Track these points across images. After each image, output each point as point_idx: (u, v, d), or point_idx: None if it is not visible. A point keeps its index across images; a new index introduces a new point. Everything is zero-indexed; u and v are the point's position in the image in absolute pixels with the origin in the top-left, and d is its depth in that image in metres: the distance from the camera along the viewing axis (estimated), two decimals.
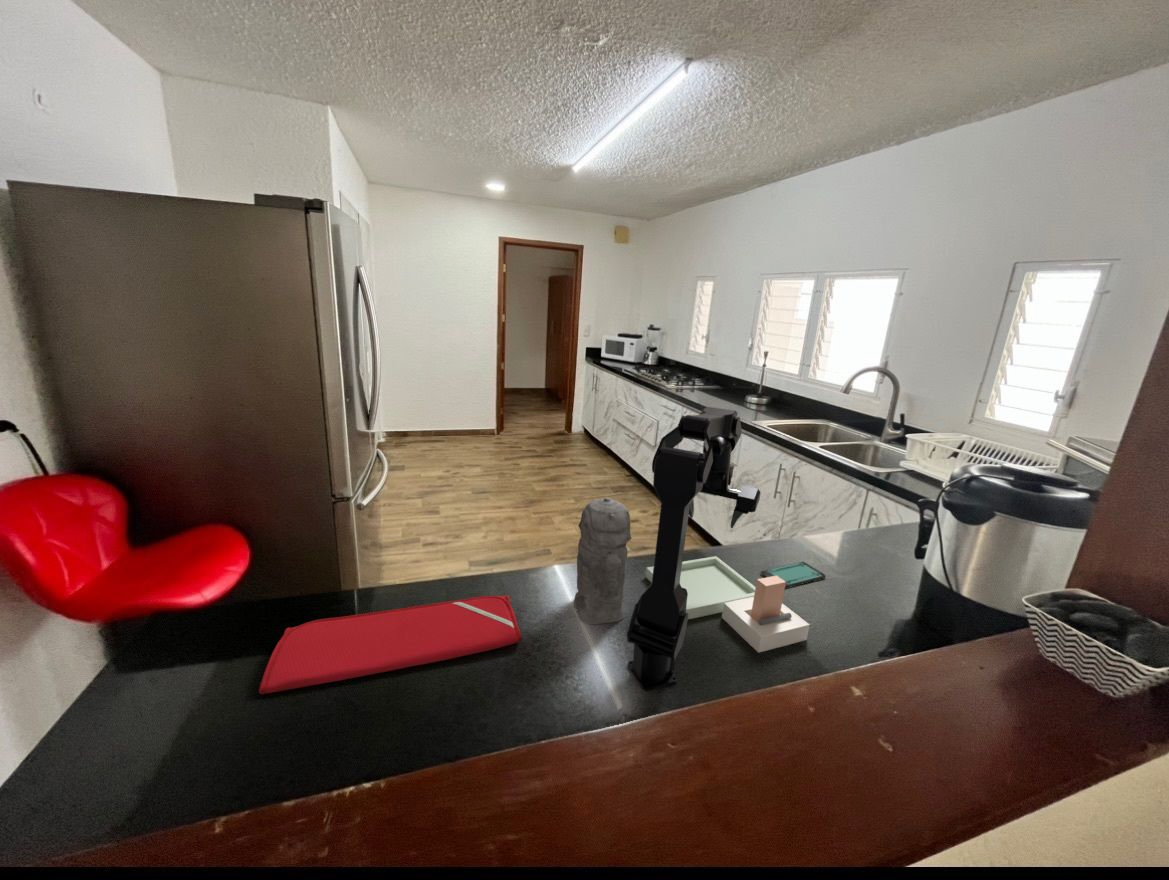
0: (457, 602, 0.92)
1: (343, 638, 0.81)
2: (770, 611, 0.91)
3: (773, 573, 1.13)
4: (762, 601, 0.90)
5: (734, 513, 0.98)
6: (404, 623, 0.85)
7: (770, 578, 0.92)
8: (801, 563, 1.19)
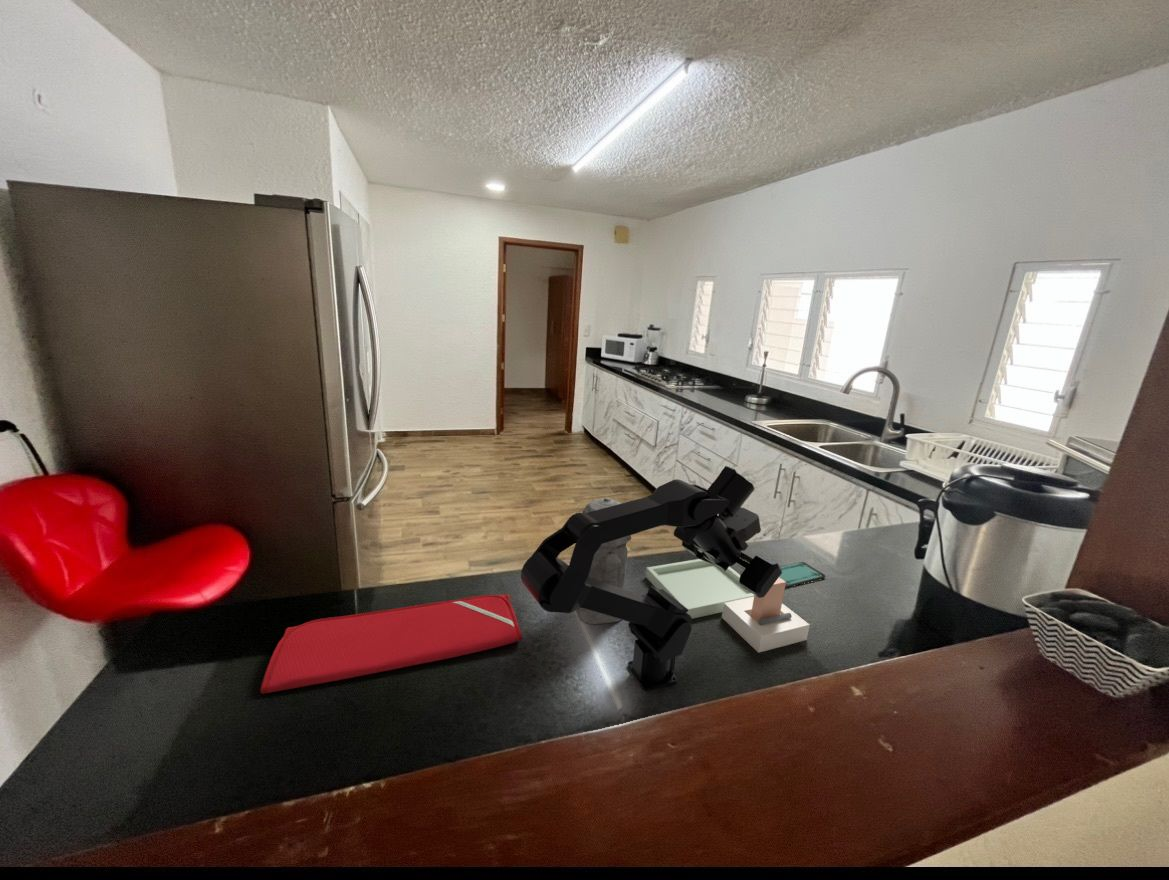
0: (457, 601, 0.92)
1: (344, 637, 0.81)
2: (770, 611, 0.91)
3: None
4: (762, 601, 0.90)
5: None
6: (404, 622, 0.85)
7: None
8: (801, 563, 1.19)
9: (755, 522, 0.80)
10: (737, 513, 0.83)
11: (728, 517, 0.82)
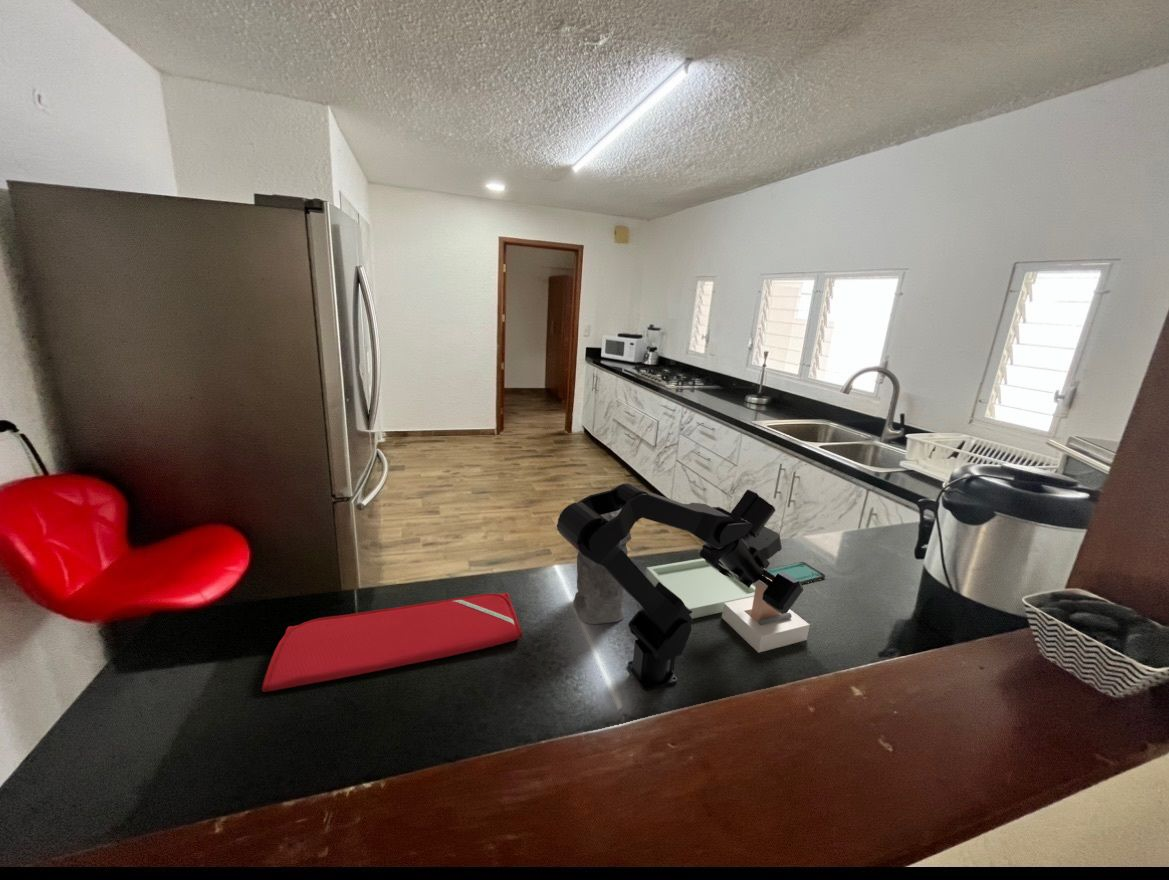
0: (457, 600, 0.93)
1: (345, 636, 0.81)
2: (770, 611, 0.91)
3: (773, 573, 1.13)
4: (762, 600, 0.90)
5: None
6: (405, 620, 0.86)
7: None
8: (801, 563, 1.19)
9: (776, 541, 0.84)
10: (758, 532, 0.87)
11: (750, 536, 0.87)
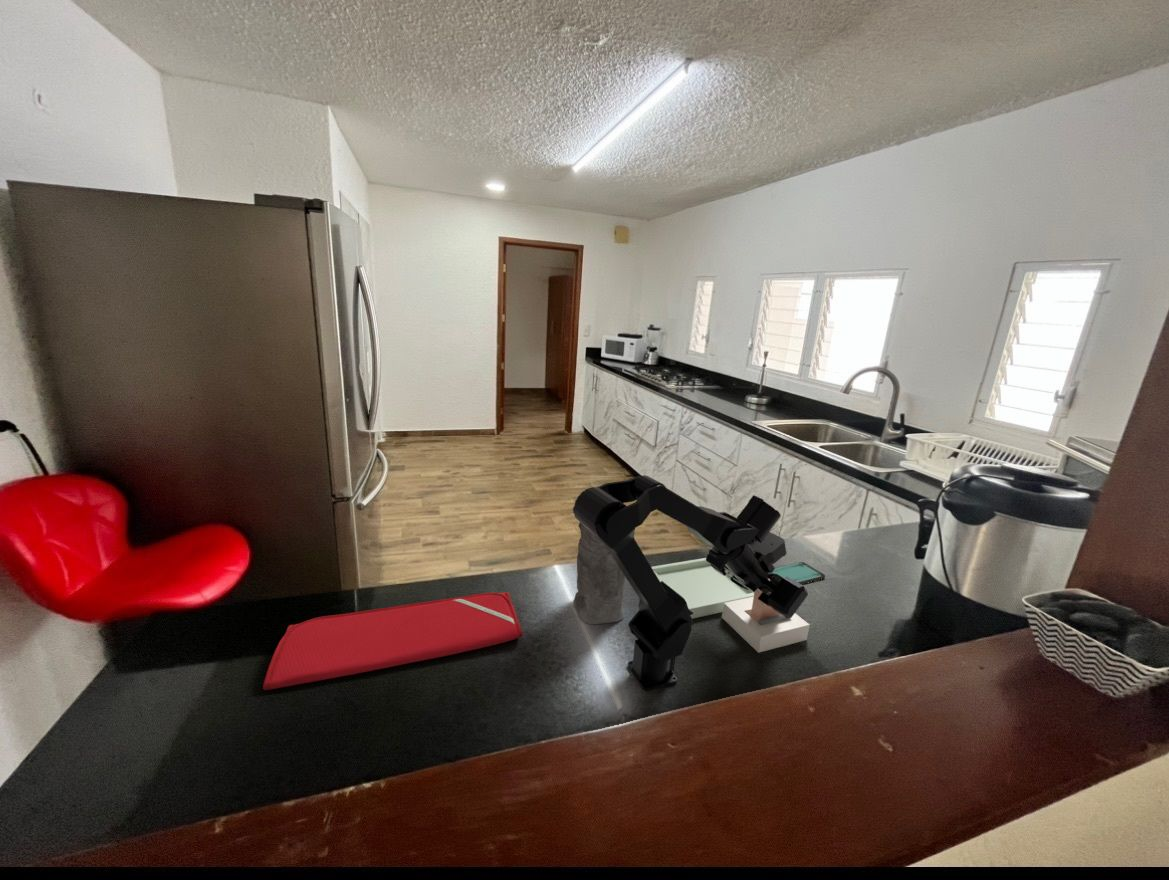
0: (458, 599, 0.93)
1: (346, 635, 0.81)
2: (770, 611, 0.91)
3: None
4: None
5: None
6: (405, 619, 0.86)
7: None
8: (801, 563, 1.19)
9: (781, 546, 0.85)
10: None
11: (755, 541, 0.88)
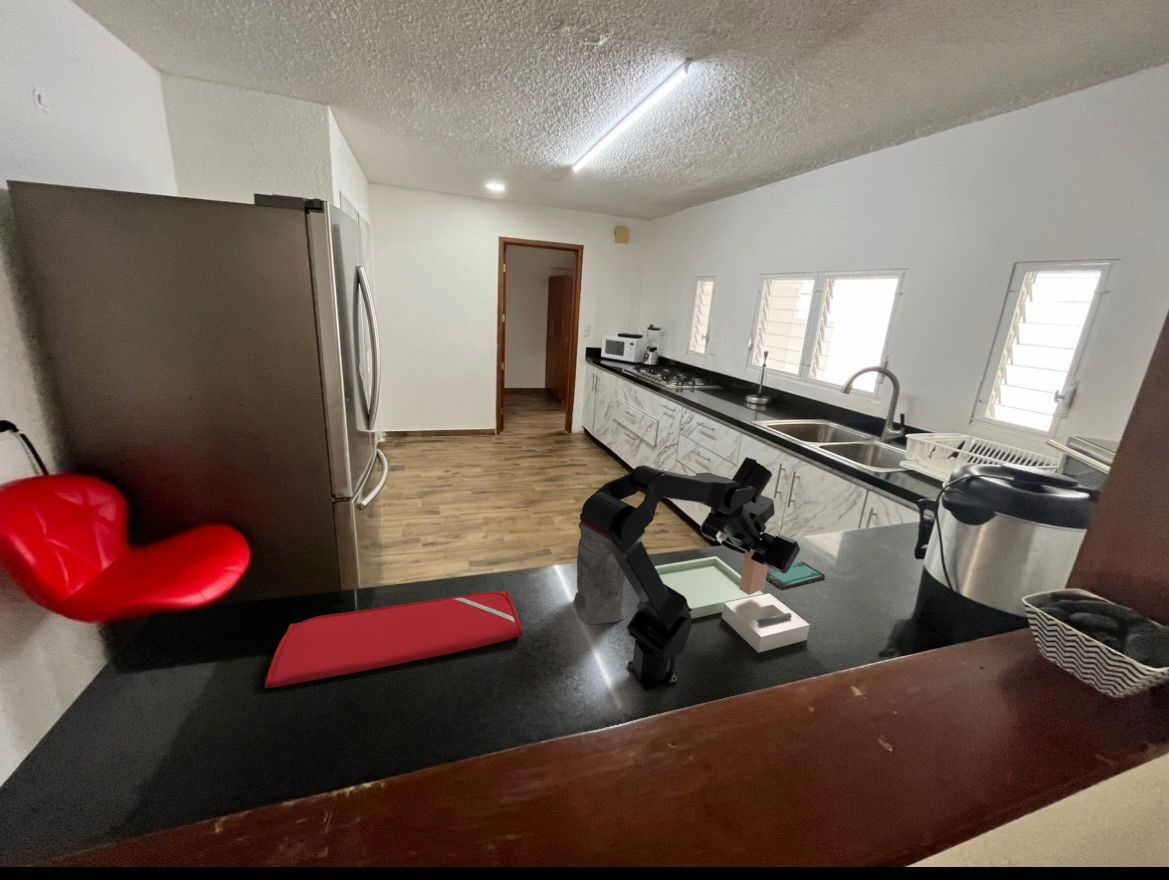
0: (458, 598, 0.93)
1: (347, 633, 0.82)
2: (759, 571, 0.94)
3: (772, 573, 1.13)
4: (753, 561, 0.92)
5: None
6: (406, 618, 0.86)
7: None
8: (800, 563, 1.19)
9: (771, 506, 0.88)
10: None
11: (745, 503, 0.90)
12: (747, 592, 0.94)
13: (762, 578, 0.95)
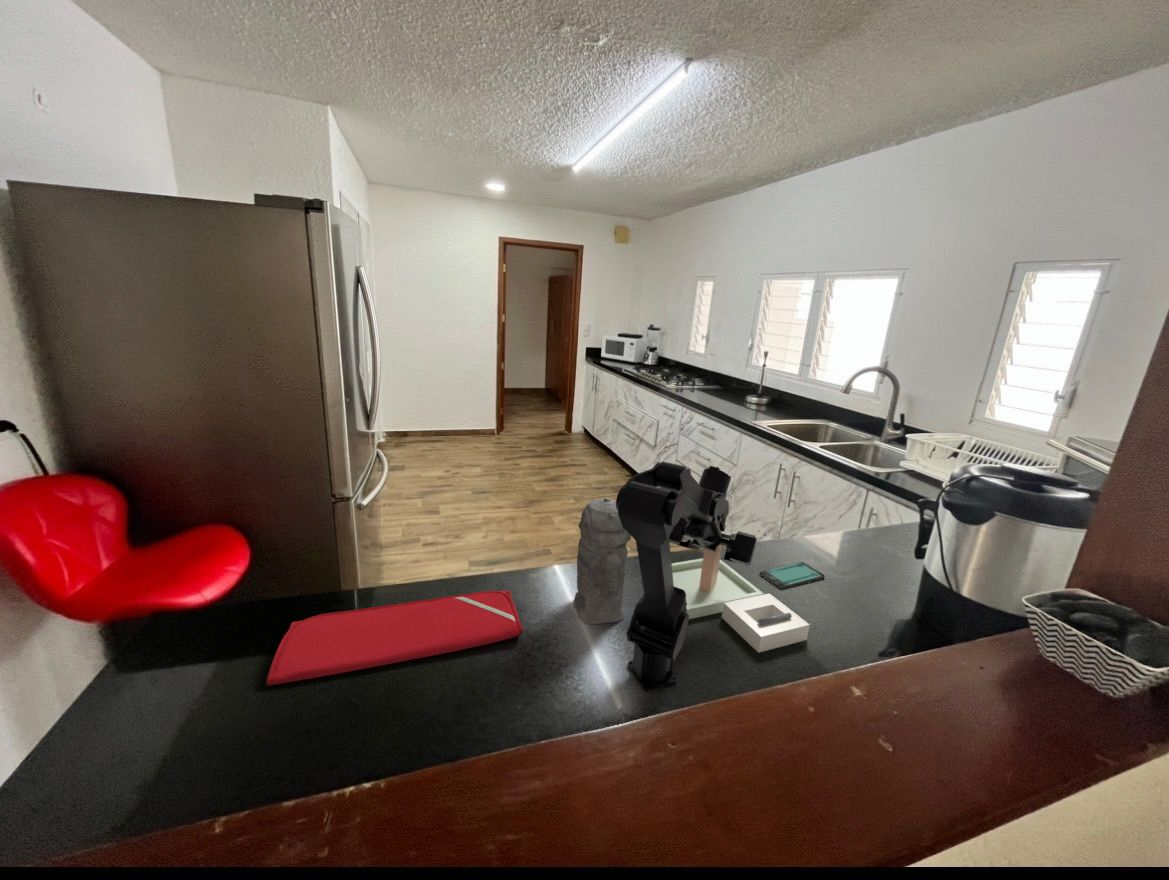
0: (459, 597, 0.94)
1: (348, 631, 0.82)
2: (715, 568, 1.04)
3: (772, 573, 1.13)
4: (712, 561, 1.02)
5: None
6: (407, 617, 0.87)
7: None
8: (800, 563, 1.19)
9: (727, 506, 0.98)
10: None
11: None
12: (707, 590, 1.04)
13: (716, 574, 1.06)
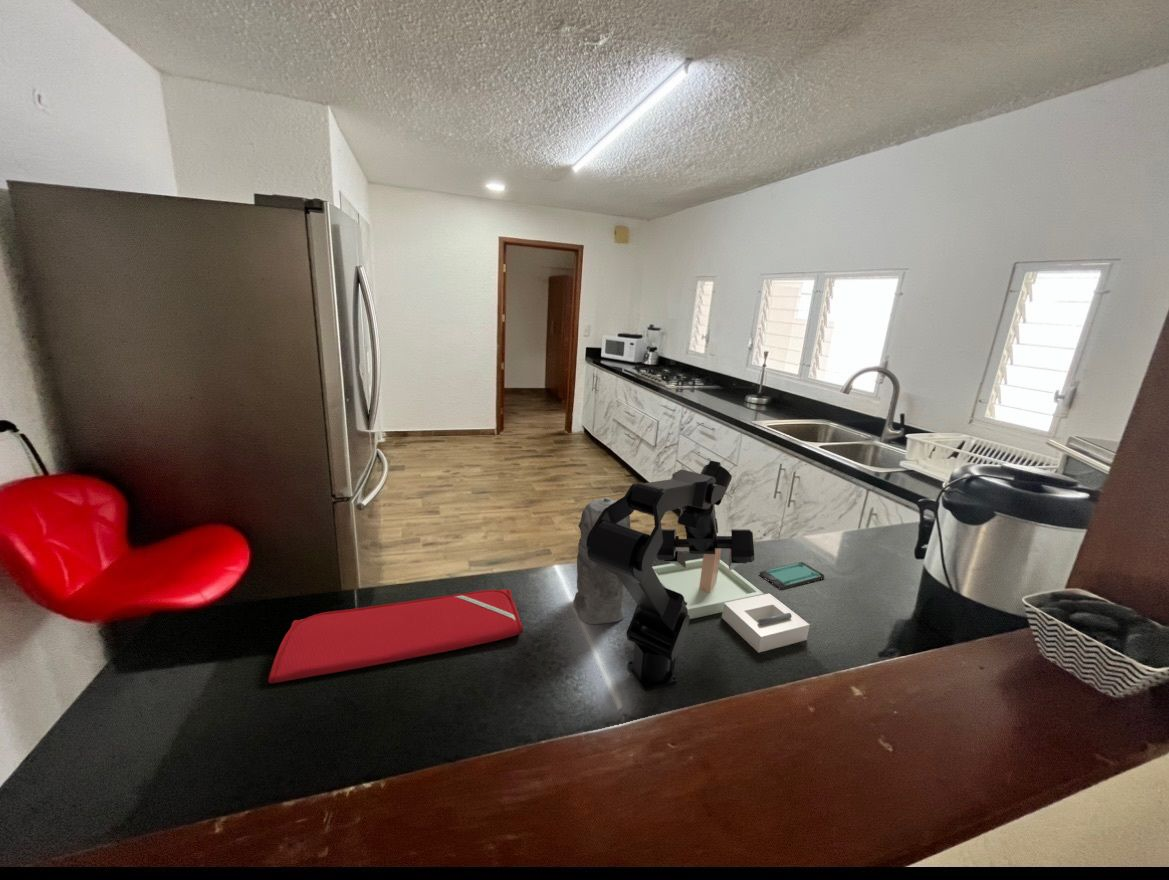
0: (460, 596, 0.94)
1: (349, 630, 0.83)
2: (715, 568, 1.04)
3: (772, 573, 1.13)
4: (712, 561, 1.02)
5: (732, 564, 0.89)
6: (408, 615, 0.87)
7: None
8: (800, 563, 1.19)
9: (714, 507, 0.93)
10: None
11: None
12: (707, 590, 1.04)
13: (716, 574, 1.06)
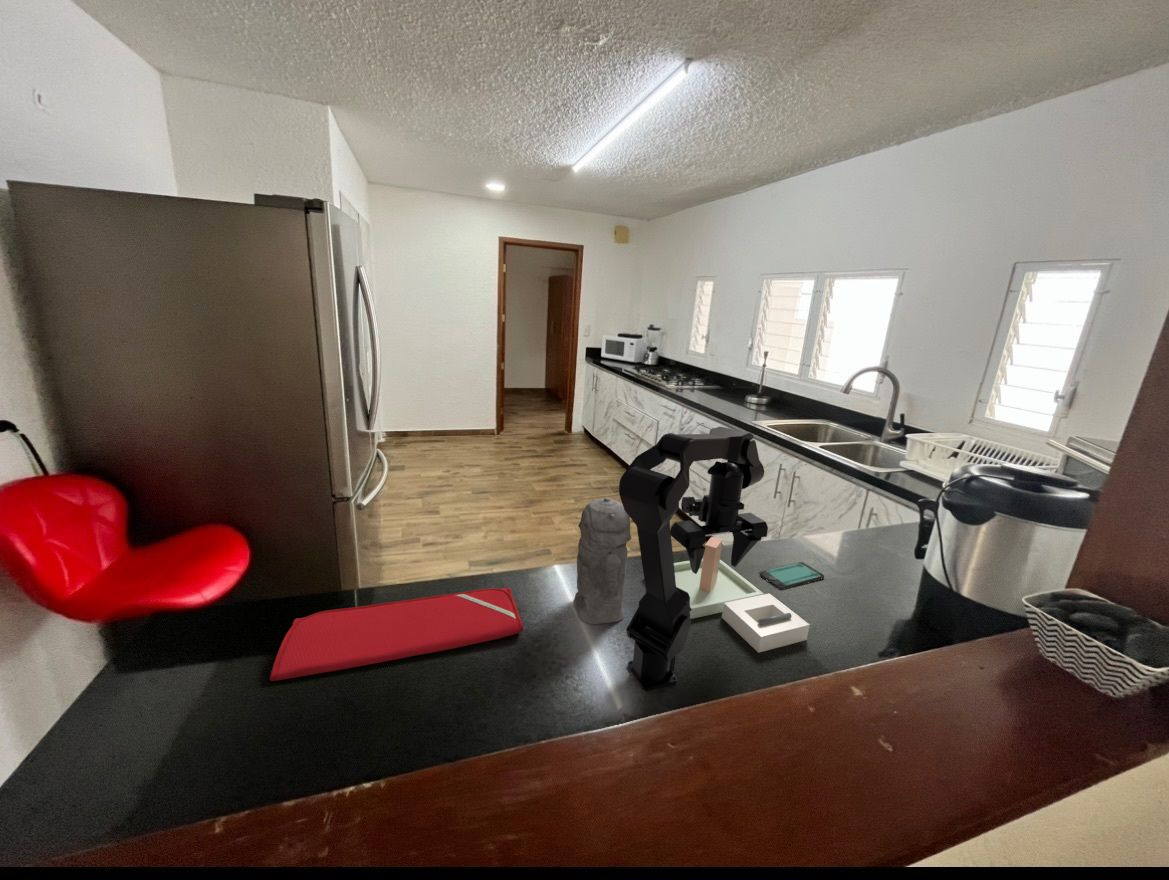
0: (460, 594, 0.94)
1: (350, 628, 0.83)
2: (715, 568, 1.04)
3: (772, 573, 1.13)
4: (712, 561, 1.02)
5: (749, 545, 0.88)
6: (409, 614, 0.88)
7: (711, 540, 1.04)
8: (800, 563, 1.19)
9: None
10: (695, 500, 0.93)
11: None
12: (707, 590, 1.04)
13: (716, 574, 1.06)
